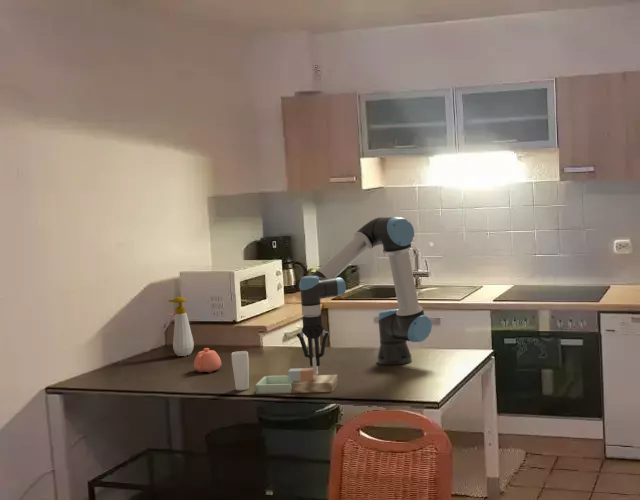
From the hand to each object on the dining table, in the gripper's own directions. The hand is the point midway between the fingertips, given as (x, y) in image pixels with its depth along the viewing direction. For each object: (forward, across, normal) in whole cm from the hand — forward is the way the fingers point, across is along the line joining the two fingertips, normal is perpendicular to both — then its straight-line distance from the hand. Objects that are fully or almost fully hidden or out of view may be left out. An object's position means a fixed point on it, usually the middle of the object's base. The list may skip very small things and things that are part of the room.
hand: (315, 374), depth 368 cm
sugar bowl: (+6, +56, -37) cm, 68 cm away
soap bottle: (+6, +80, -74) cm, 109 cm away
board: (+6, +1, 0) cm, 6 cm away
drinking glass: (+6, +31, -1) cm, 31 cm away
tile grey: (+2, +8, 0) cm, 8 cm away
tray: (+6, +16, 0) cm, 17 cm away
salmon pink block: (+2, +3, 0) cm, 4 cm away
